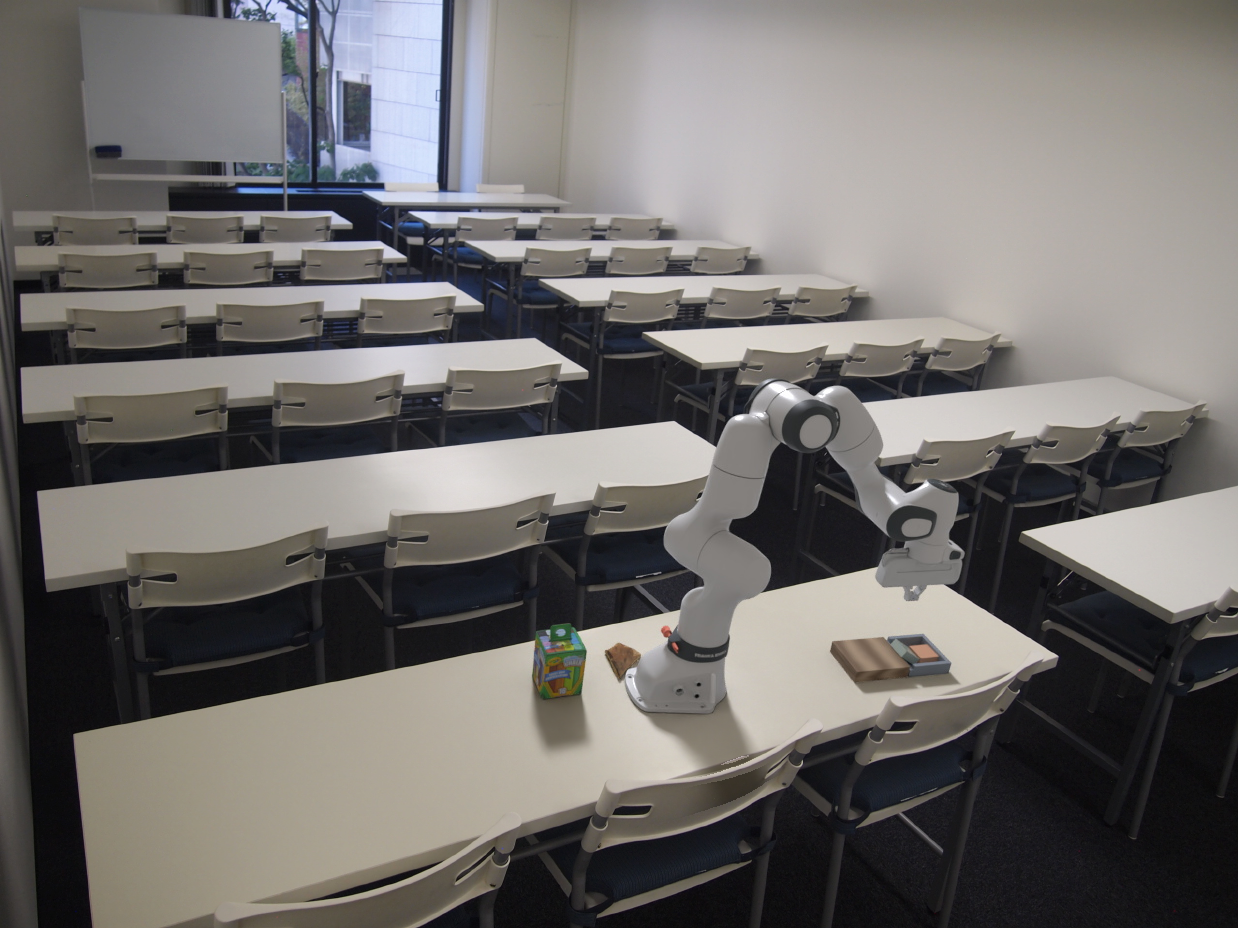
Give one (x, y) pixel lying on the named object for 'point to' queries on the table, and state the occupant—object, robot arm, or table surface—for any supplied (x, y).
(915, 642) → the tray
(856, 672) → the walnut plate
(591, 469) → the table surface
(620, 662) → the shard
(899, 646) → the sage tile
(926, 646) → the terracotta tile
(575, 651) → the chalk box
